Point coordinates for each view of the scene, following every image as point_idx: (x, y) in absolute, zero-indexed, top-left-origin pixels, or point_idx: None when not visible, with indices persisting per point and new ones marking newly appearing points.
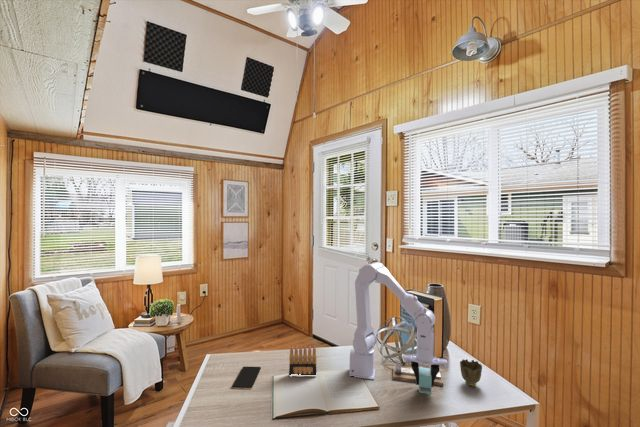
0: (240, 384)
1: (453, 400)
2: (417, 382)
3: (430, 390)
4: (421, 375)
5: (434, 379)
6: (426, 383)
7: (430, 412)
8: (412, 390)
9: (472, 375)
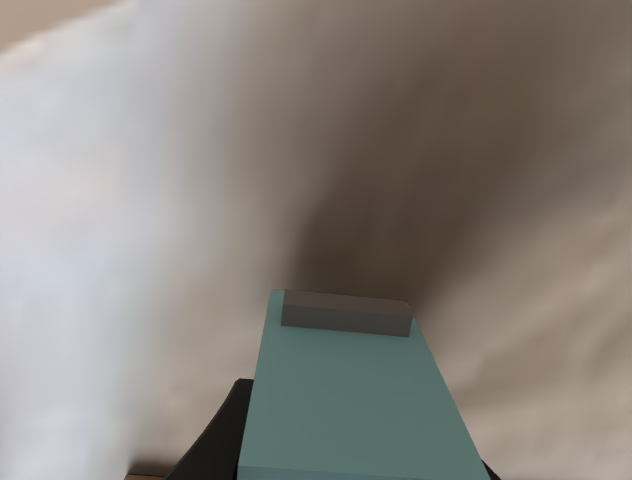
0: None
1: (49, 275)
2: None
3: (278, 311)
4: (447, 478)
5: (190, 449)
6: (333, 369)
7: (336, 4)
8: None
9: None
